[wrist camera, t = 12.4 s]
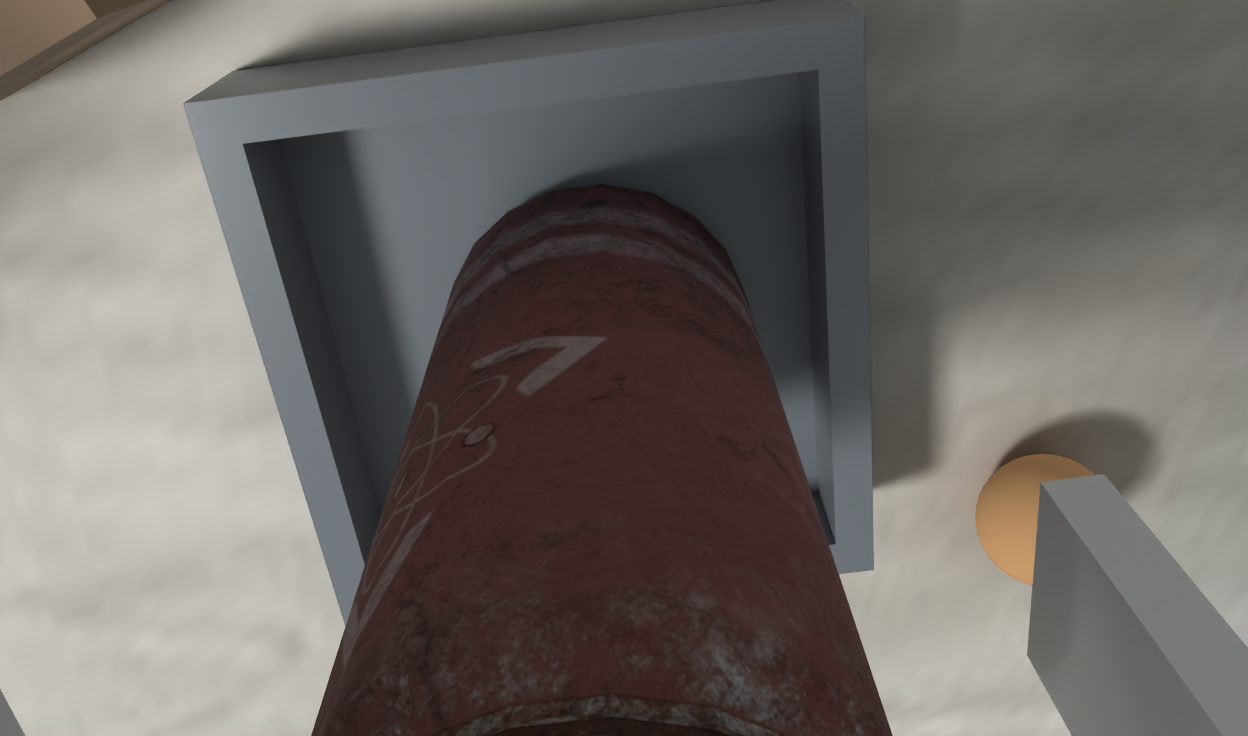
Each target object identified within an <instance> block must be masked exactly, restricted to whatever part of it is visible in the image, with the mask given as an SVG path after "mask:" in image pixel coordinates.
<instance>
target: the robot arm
mask: <svg viewBox="0 0 1248 736" xmlns="http://www.w3.org/2000/svg"><path fill="white" fill-rule="evenodd" d="M1027 656H1028V657H1029V659H1030V661H1031V663H1032V665H1033V666H1034V668H1035V670H1036V672H1037V674H1038V675H1039V677H1040V679H1041V681H1042V683H1043V684H1044V686H1045V688H1046V690H1047V692H1048V693H1049V695H1050V697H1051V699H1052V701H1053V702H1054V704H1055V706H1056V708H1057V710H1058V712H1059V713H1060V715H1061V717H1062V719H1063V721H1064V722H1065V724H1066V726H1067V728H1068V730H1069V731H1070V733H1071V735H1072V736H1248V648H1247V646H1246V645H1245V644H1244V643H1243V642H1242V640H1241V639H1240V638H1239V637H1238V636H1237V634H1236V633H1235V632H1234V631H1233V629H1232V628H1231V627H1230V626H1229V625H1228V623H1227V622H1226V621H1225V620H1224V619H1223V617H1222V616H1221V615H1220V614H1219V613H1218V611H1217V610H1216V609H1215V608H1214V606H1213V605H1212V604H1211V603H1210V602H1209V600H1208V599H1207V598H1206V597H1205V596H1204V594H1203V593H1202V592H1201V591H1200V590H1199V588H1198V587H1197V586H1196V585H1195V583H1194V582H1193V581H1192V580H1191V579H1190V577H1189V576H1188V575H1187V574H1186V573H1185V571H1184V570H1183V569H1182V568H1181V566H1180V565H1179V564H1178V563H1177V562H1176V560H1175V559H1174V558H1173V557H1172V556H1171V554H1170V553H1169V552H1168V551H1167V550H1166V548H1165V547H1164V546H1163V545H1162V543H1161V542H1160V541H1159V540H1158V539H1157V537H1156V536H1155V535H1154V534H1153V533H1152V531H1151V530H1150V529H1149V528H1148V527H1147V525H1146V524H1145V523H1144V522H1143V520H1142V519H1141V518H1140V517H1139V516H1138V514H1137V513H1136V512H1135V511H1134V510H1133V508H1132V507H1131V506H1130V505H1129V504H1128V502H1127V501H1126V500H1125V499H1124V497H1123V496H1122V495H1121V494H1120V493H1119V491H1118V490H1117V489H1116V488H1115V487H1114V485H1113V484H1112V483H1111V482H1110V480H1109V479H1108V478H1107V477H1106V476H1105V474H1101V475H1093V476H1085V477H1077V478H1069V479H1062V480H1054V481H1046V482H1040V495H1039V508H1038V521H1037V534H1036V547H1035V560H1034V573H1033V586H1032V599H1031V612H1030V625H1029V638H1028V651H1027ZM0 736H25V734H24V732H23V731H22V729H21V727H20V725H19V723H18V721H17V719H16V718H15V716H14V714H13V712H12V710H11V708H10V706H9V705H8V703H7V701H6V699H5V697H4V695H3V693H2V692H1V690H0Z"/></svg>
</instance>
